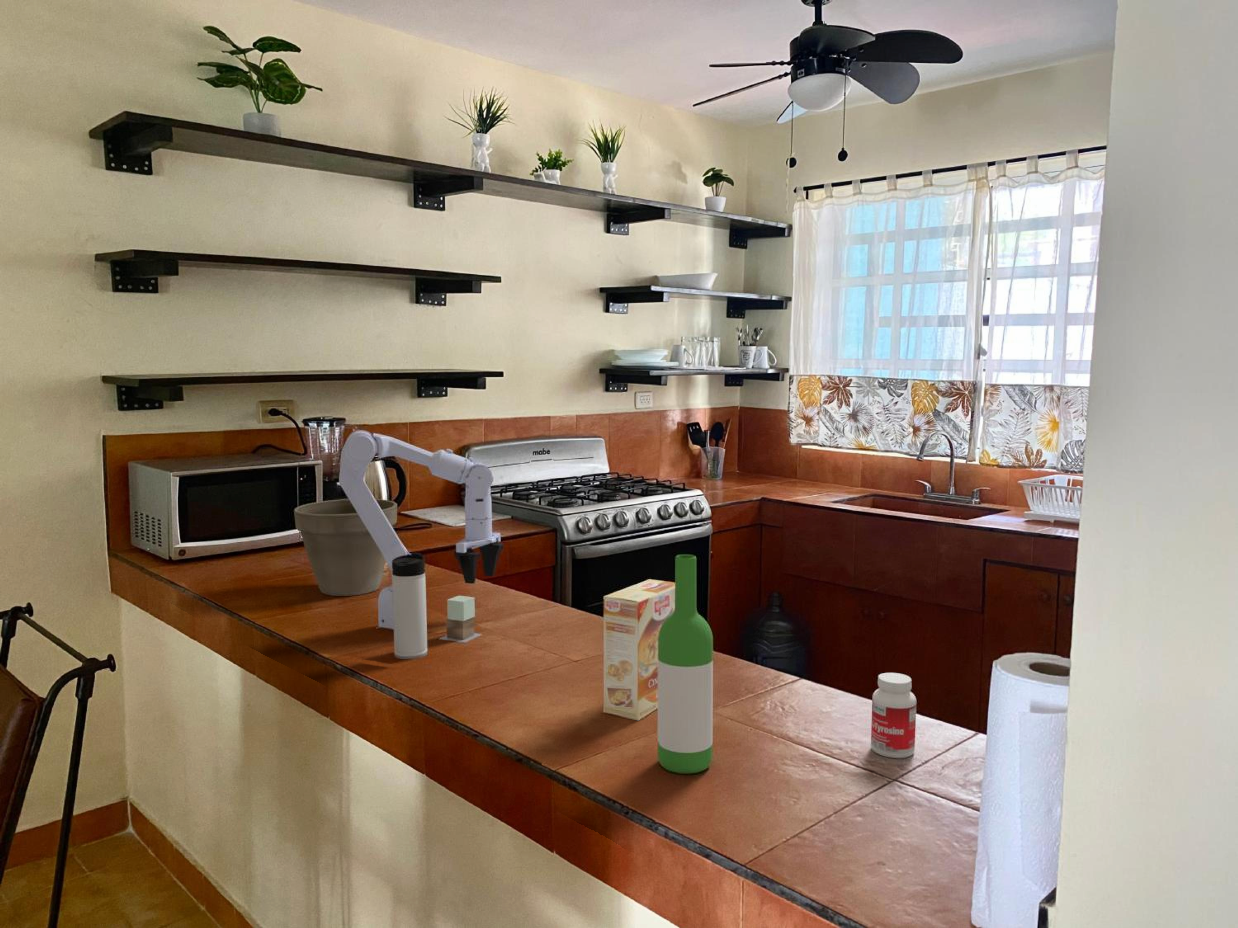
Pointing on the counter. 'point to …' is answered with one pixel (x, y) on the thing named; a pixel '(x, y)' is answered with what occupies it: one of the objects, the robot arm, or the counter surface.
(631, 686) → the coffeecake box
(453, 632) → the walnut block
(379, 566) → the plant pot
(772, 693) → the counter surface
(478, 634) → the white square board
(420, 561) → the travel mug
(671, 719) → the wine bottle
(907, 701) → the pill bottle
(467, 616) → the green block
